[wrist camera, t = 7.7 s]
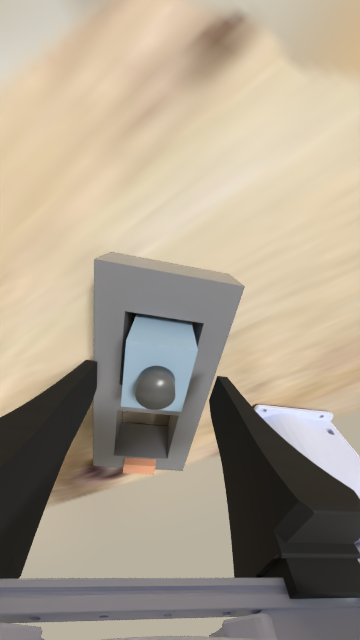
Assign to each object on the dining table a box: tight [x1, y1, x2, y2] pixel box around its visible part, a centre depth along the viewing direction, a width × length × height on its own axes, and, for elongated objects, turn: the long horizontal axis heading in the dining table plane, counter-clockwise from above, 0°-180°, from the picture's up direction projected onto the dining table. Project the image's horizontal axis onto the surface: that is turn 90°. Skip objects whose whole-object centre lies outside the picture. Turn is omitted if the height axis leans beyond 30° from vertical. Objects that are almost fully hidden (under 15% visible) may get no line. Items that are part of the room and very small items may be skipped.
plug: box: [121, 313, 198, 412], centre depth 14 cm, size 4×5×7 cm
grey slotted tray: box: [93, 252, 245, 475], centre depth 17 cm, size 9×20×4 cm, turn 169°
